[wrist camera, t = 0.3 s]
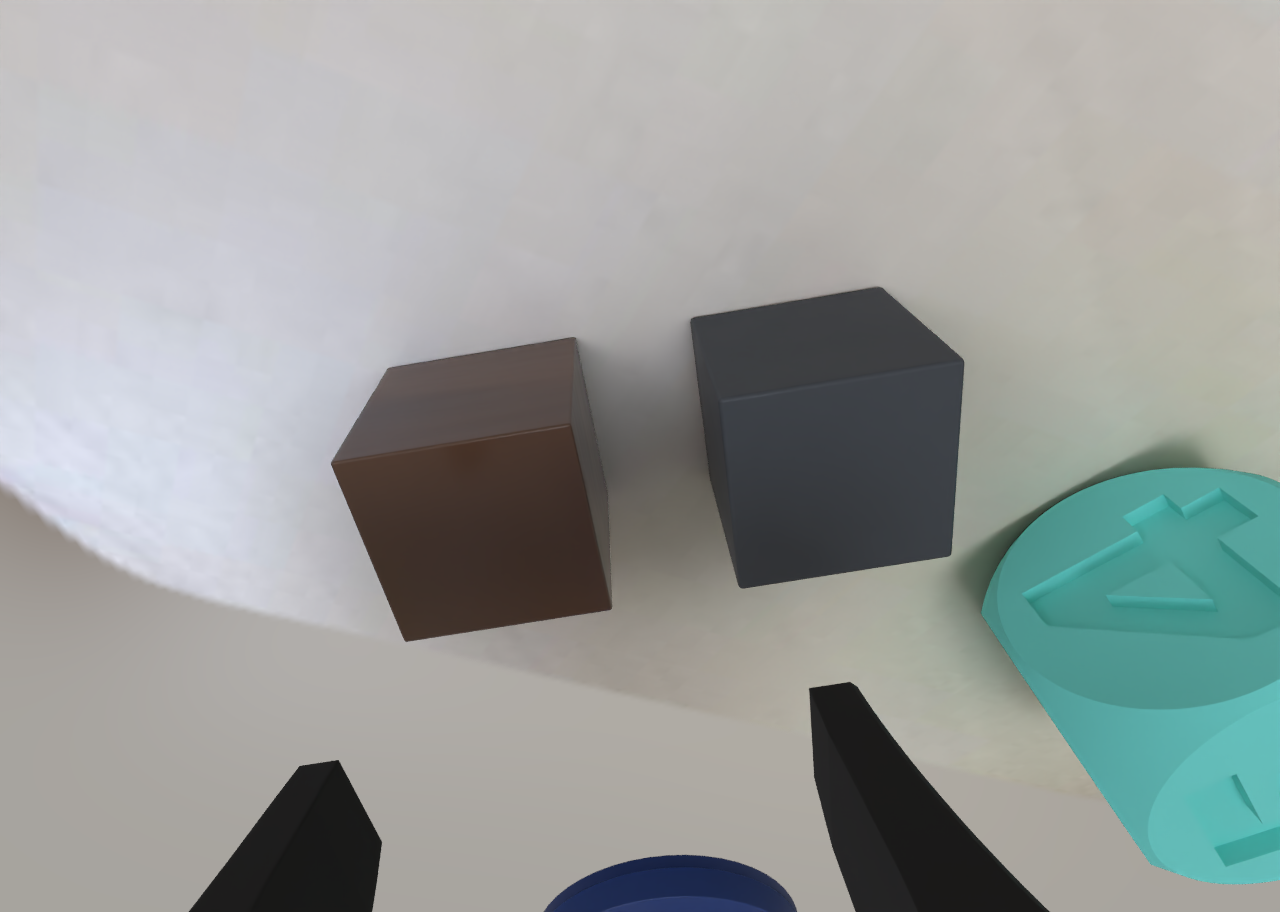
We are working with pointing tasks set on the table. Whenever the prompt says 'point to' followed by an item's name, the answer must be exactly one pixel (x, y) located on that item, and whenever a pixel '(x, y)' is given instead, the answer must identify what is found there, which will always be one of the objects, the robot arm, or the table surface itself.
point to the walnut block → (481, 491)
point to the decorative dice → (1161, 657)
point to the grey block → (829, 435)
